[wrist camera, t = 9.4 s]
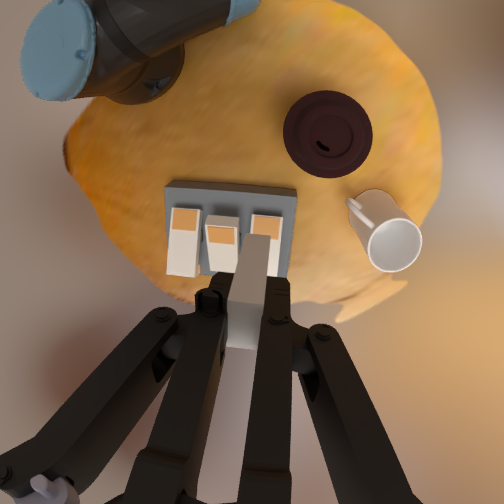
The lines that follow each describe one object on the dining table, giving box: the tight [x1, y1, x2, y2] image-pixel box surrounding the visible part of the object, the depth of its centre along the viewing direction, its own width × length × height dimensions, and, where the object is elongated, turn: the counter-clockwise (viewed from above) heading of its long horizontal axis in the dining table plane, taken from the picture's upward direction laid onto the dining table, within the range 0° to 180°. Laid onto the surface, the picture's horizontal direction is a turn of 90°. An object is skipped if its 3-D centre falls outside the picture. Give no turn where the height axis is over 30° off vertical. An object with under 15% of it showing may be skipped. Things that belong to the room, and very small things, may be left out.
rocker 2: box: [205, 215, 240, 273], centre depth 45 cm, size 10×4×2 cm, turn 179°
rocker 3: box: [250, 214, 283, 277], centre depth 45 cm, size 10×4×2 cm, turn 174°
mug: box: [345, 189, 422, 272], centre depth 42 cm, size 12×8×12 cm
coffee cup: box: [283, 90, 373, 178], centre depth 36 cm, size 10×10×15 cm
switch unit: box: [164, 180, 297, 278], centre depth 49 cm, size 15×20×5 cm
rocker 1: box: [167, 208, 203, 278], centre depth 45 cm, size 10×4×2 cm, turn 174°
